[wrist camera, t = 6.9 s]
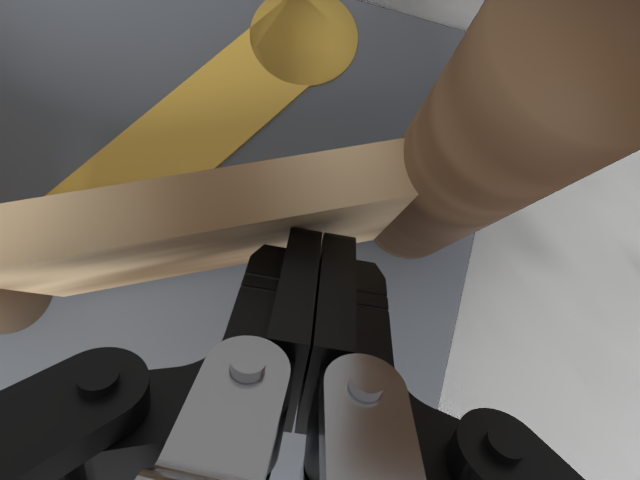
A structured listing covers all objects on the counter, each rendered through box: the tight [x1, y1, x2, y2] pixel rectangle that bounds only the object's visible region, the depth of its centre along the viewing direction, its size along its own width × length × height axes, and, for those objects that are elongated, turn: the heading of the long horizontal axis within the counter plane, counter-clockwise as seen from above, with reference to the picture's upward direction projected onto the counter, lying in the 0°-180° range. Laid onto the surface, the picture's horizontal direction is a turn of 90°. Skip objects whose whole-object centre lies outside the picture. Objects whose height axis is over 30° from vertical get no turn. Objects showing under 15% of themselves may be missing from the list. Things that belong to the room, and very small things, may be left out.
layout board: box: [0, 0, 475, 480], centre depth 10 cm, size 22×20×10 cm
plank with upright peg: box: [0, 0, 640, 297], centre depth 9 cm, size 12×3×9 cm, turn 101°
